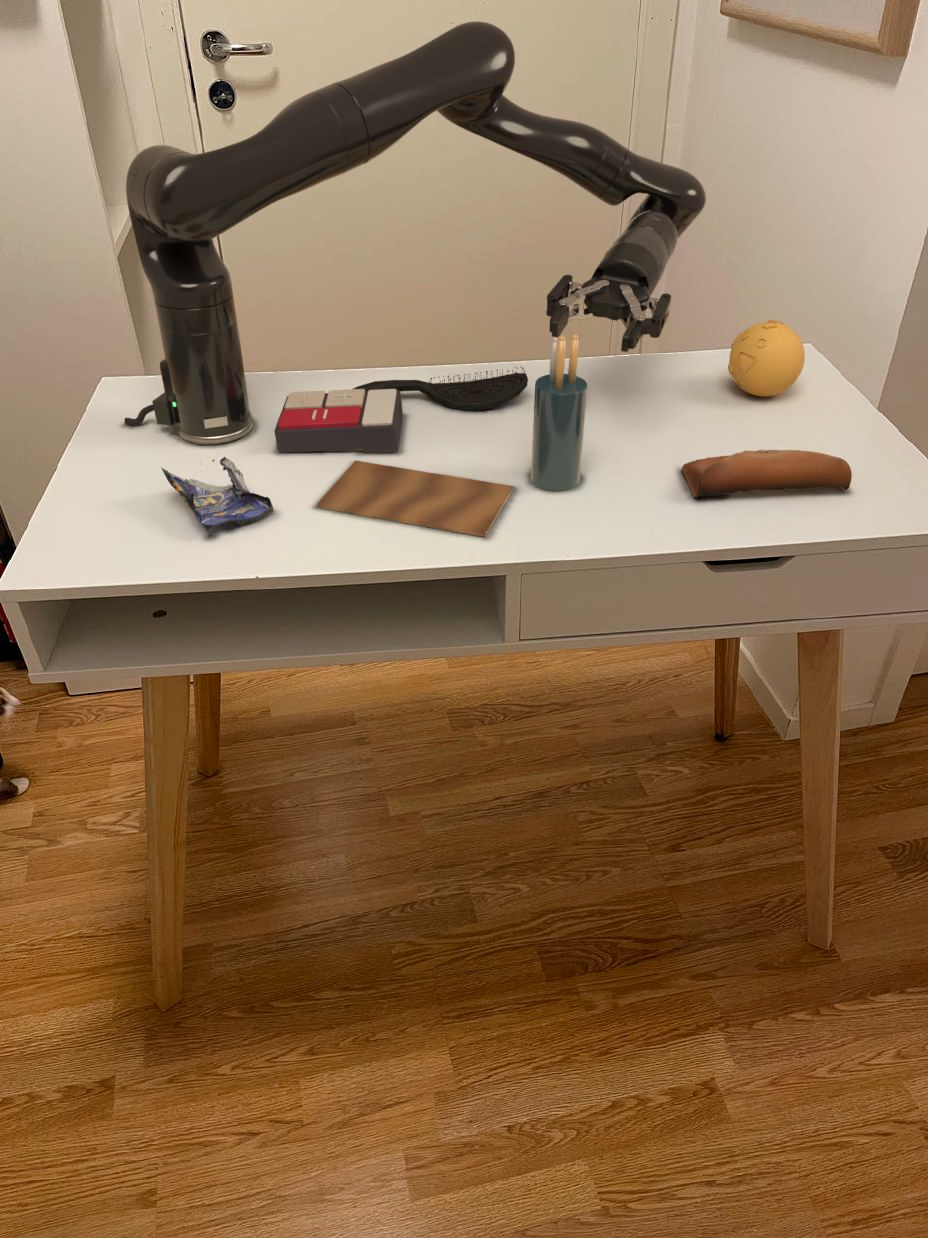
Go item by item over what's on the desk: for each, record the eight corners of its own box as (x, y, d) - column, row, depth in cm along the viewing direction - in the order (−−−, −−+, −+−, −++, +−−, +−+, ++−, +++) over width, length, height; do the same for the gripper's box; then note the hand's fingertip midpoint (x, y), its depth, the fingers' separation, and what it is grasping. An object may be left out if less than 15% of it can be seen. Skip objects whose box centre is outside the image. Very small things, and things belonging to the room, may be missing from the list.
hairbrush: (346, 367, 134) (526, 358, 134) (349, 392, 136) (526, 383, 136) (341, 392, 128) (529, 382, 127) (344, 417, 130) (530, 408, 129)
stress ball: (790, 380, 138) (805, 311, 132) (801, 410, 130) (818, 337, 124) (719, 377, 139) (731, 308, 133) (726, 406, 131) (739, 334, 125)
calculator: (286, 388, 126) (400, 383, 126) (291, 419, 129) (403, 414, 128) (272, 425, 117) (394, 420, 117) (278, 457, 120) (398, 452, 120)
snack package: (268, 479, 115) (167, 487, 112) (264, 434, 110) (158, 441, 108) (277, 546, 107) (168, 556, 104) (273, 501, 102) (159, 510, 100)
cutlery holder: (525, 486, 113) (531, 337, 102) (537, 464, 117) (545, 319, 107) (573, 494, 112) (585, 343, 101) (584, 471, 116) (596, 325, 105)
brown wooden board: (316, 507, 109) (316, 503, 109) (355, 463, 117) (355, 460, 117) (485, 537, 104) (485, 533, 104) (513, 489, 112) (513, 485, 112)
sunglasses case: (820, 456, 118) (843, 426, 112) (834, 507, 115) (858, 478, 109) (676, 464, 116) (691, 433, 110) (687, 516, 114) (703, 487, 107)
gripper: (682, 307, 122) (644, 378, 113) (576, 286, 127) (531, 353, 117) (690, 251, 117) (651, 321, 107) (579, 231, 121) (532, 297, 111)
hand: (588, 337), depth 112 cm, fingers open, 8 cm apart
